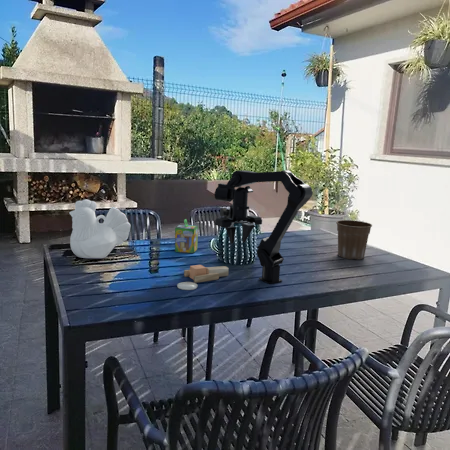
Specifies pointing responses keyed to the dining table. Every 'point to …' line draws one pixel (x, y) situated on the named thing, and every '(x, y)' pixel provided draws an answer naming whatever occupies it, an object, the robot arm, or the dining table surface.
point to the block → (197, 270)
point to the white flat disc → (187, 285)
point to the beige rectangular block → (218, 270)
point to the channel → (202, 276)
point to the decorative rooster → (96, 230)
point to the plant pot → (352, 238)
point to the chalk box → (186, 238)
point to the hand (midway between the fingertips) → (237, 242)
